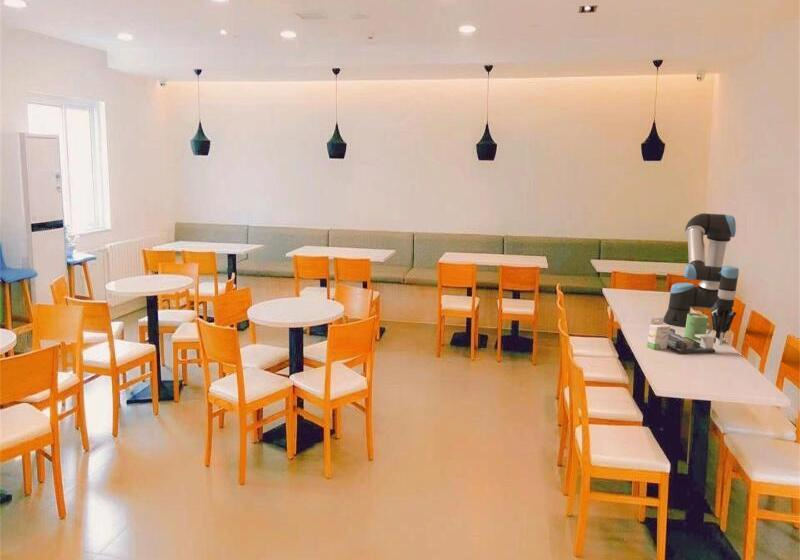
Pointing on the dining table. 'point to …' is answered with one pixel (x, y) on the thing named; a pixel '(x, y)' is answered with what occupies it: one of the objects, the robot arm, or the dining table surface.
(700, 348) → the base tray
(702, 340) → the lug slider
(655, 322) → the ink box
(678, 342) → the heat sink
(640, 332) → the dining table surface
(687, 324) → the mug
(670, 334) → the strap
